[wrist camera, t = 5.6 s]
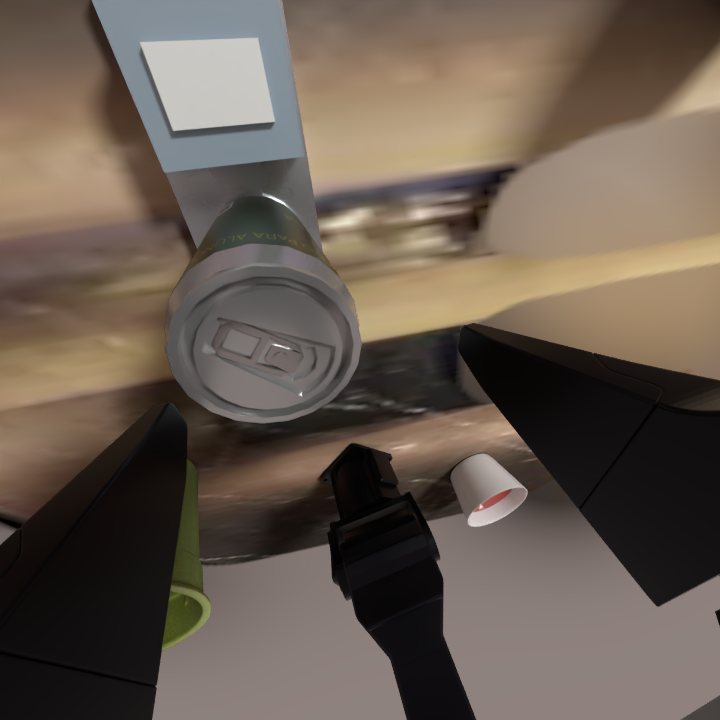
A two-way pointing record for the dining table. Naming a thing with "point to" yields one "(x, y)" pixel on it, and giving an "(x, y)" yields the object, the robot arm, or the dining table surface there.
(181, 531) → the plant pot
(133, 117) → the dining table surface
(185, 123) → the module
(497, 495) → the white tapered cup
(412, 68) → the dining table surface
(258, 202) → the beer can
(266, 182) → the rail
